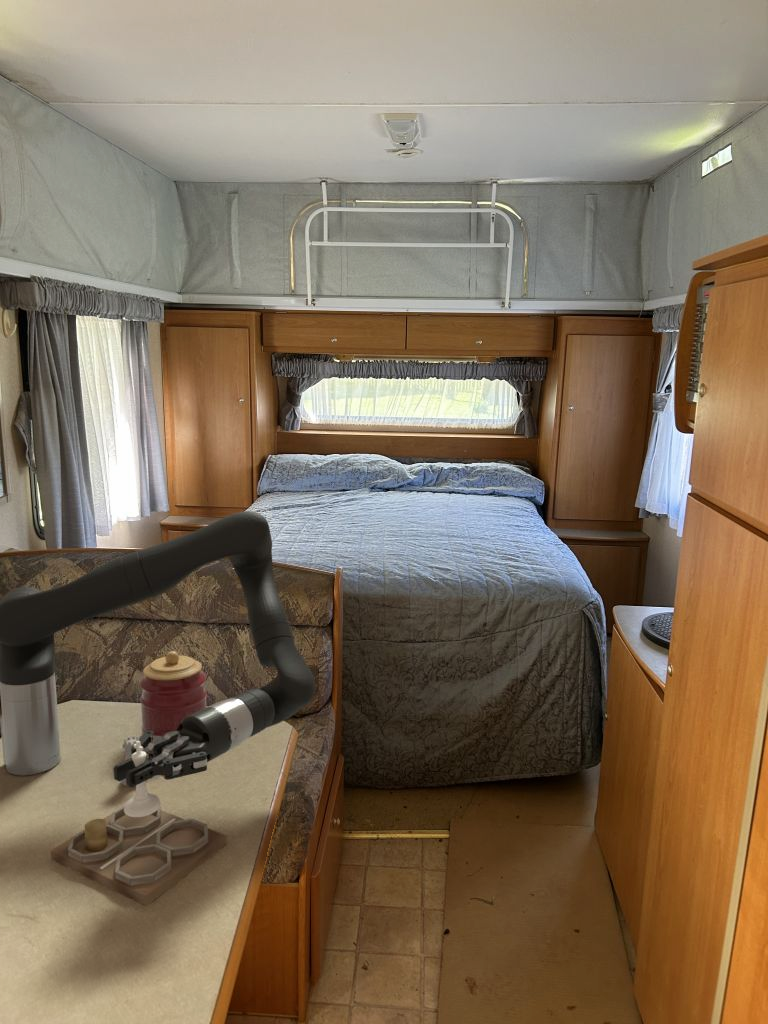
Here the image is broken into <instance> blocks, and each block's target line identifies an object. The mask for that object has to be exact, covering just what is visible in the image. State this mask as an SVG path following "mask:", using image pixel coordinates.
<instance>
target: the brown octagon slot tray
mask: <svg viewBox="0 0 768 1024" xmlns="http://www.w3.org/2000/svg"><path fill="white" fill-rule="evenodd" d="M227 837H228V835H227V834H224V833H221V832H218V831H216V830H213V829H212V828H211V829H210V828H208V824H207V823H204V822H202V821H200V820H197V819H194V818H190V819H185V818H183V817H180V816H178V815H175V814H173V813H170V812H167V811H164V810H162V806H161V805H160V807H159V809H158V810H157V811H156V812H154V813H152V814H150V815H147V816H143V817H130V816H128V815H126V814H125V813H124V805H123V806H122V807H120V808H118V809H116V810H115V811H113V812H112V813H110V814H108V815H107V816H105V817H104V818H94V819H91V820H88V821H87V822H86V823H85V824H84V829H83V830H81V831H80V832H78V833H76V834H74V835H73V836H71V837H70V838H69V839H68V840H65V841H63V842H62V843H60V844H59V845H57V846H55V847H54V848H52V849H50V850H49V851H50V861H53V862H55V863H57V864H59V865H61V866H63V867H65V868H67V869H69V870H71V871H73V872H76V873H78V874H80V875H82V876H84V877H86V878H88V879H90V880H92V881H94V882H96V883H99V884H100V885H103V886H105V887H106V888H109V889H110V890H113V891H114V892H118V893H119V894H120V895H123V896H125V897H127V898H129V899H131V900H133V901H135V902H137V903H140V904H142V905H144V906H146V907H147V906H149V905H150V904H151V903H153V902H154V901H156V899H158V898H160V897H161V896H162V895H163V894H165V893H166V892H167V891H168V890H170V889H172V887H173V886H175V885H176V884H177V883H179V882H180V881H181V880H182V879H184V878H185V877H186V876H187V875H189V874H190V873H192V872H193V871H194V870H195V869H197V868H198V867H199V866H200V865H202V864H204V863H205V862H206V861H208V859H210V858H211V857H212V856H214V855H215V854H216V853H218V852H219V851H220V850H222V849H223V848H225V846H226V845H227V844H228V843H227V842H228V841H227Z"/></svg>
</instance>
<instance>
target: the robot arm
mask: <svg viewBox="0 0 768 1024" xmlns="http://www.w3.org/2000/svg"><path fill="white" fill-rule="evenodd" d="M271 534H272V533H271V528H270V526H269V522H268V520H267V518H266V517H264V515H262V513H261V514H260V513H258V512H256V511H252V510H251V511H250V510H246V511H245V510H244V511H238V512H235V513H232V514H230V515H227V516H225V517H223V518H221V519H218V520H216V521H214V522H212V523H209V524H208V525H205V526H204V527H200V528H198V529H197V530H194V531H192V532H189V533H187V534H184V535H180V536H178V537H175V538H172V539H169V540H167V541H164V542H161V543H158V544H156V545H153V546H149V547H147V548H143V549H139V550H136V551H133V552H131V553H128V554H125V555H122V556H119V557H116V558H114V559H111V560H109V561H107V562H105V563H103V564H102V565H100V566H98V567H96V568H94V569H92V570H90V571H88V572H87V573H85V574H84V575H82V576H79V577H78V578H76V579H74V580H72V581H70V582H68V583H66V584H63V585H60V586H58V587H54V588H51V589H46V590H43V591H42V590H40V589H39V588H37V587H33V586H20V587H16V588H13V589H11V590H10V591H8V592H7V593H6V594H4V596H2V597H1V599H0V704H1V705H0V706H1V715H0V732H1V744H2V745H1V746H2V756H3V757H2V758H3V764H4V765H5V767H6V771H7V772H8V773H9V774H11V775H14V776H30V775H36V774H41V773H43V772H46V771H49V770H51V769H53V768H54V767H56V766H57V765H58V764H59V763H60V761H61V759H62V757H61V743H60V729H59V715H58V714H59V712H58V710H59V709H58V701H57V700H58V698H57V686H56V671H55V658H56V655H55V654H56V645H55V634H56V633H58V632H60V631H62V630H64V629H67V628H68V627H71V626H73V625H76V624H78V623H80V622H83V621H86V620H89V619H93V618H95V617H99V616H102V615H105V614H109V613H112V612H115V611H118V610H121V609H124V608H126V607H127V608H128V607H130V606H133V605H137V604H140V603H143V602H145V601H147V600H151V599H153V598H155V597H156V598H157V597H159V596H161V595H164V594H165V593H167V592H169V591H171V590H172V589H173V588H175V587H177V586H178V584H180V583H181V582H182V581H183V580H185V579H186V578H187V577H188V576H189V575H191V574H192V573H193V572H195V571H197V570H198V569H200V568H202V567H203V566H206V565H208V564H210V563H213V562H216V561H220V560H222V559H225V558H227V559H228V560H229V561H230V563H231V566H232V567H233V569H234V572H235V574H236V576H237V578H238V580H239V583H240V585H241V588H242V591H243V594H244V598H245V603H246V604H245V605H246V609H247V618H248V623H249V627H250V633H251V637H252V641H253V644H254V648H255V652H256V653H255V654H256V656H257V658H258V659H257V660H258V661H259V664H261V665H262V666H263V667H265V668H275V669H276V671H277V676H275V678H273V679H271V680H270V681H269V682H268V683H266V684H265V685H263V686H262V687H260V688H251V689H248V690H246V691H243V692H241V693H238V694H236V695H234V696H232V697H229V698H227V699H224V700H220V701H218V702H215V703H213V704H211V705H208V706H207V707H206V708H204V709H202V710H200V711H198V712H196V713H194V714H191V715H189V716H187V717H185V718H184V719H183V720H182V721H181V723H180V725H179V727H178V728H177V729H176V730H175V731H172V732H167V733H165V734H163V735H162V736H154V735H153V731H146V732H145V733H144V734H143V735H142V734H141V736H140V737H139V740H138V741H140V743H141V746H142V747H143V750H142V751H144V752H146V754H147V755H146V757H147V756H148V759H145V763H143V764H141V765H139V766H137V767H136V766H135V764H134V762H133V760H132V757H131V758H129V759H127V760H126V759H125V760H123V761H121V762H119V763H117V764H116V765H114V767H113V779H114V780H115V781H117V782H121V781H122V780H123V779H125V778H126V784H127V786H129V787H128V788H135V787H136V785H137V784H140V783H142V782H144V781H145V782H146V781H147V780H150V779H151V778H154V779H158V778H160V777H162V776H163V777H164V780H166V781H167V780H169V781H170V780H174V779H178V778H181V777H182V778H183V777H187V776H190V775H193V774H198V773H203V772H206V771H207V770H208V762H211V761H213V760H215V759H216V758H218V757H220V756H222V755H223V754H225V753H227V752H229V751H231V750H233V749H235V748H236V747H238V746H240V745H241V744H242V743H244V742H245V741H246V740H248V739H251V737H253V736H255V735H257V734H259V733H261V732H263V731H264V730H265V729H267V728H270V727H273V726H275V725H278V724H280V723H282V722H284V721H285V720H287V719H290V718H291V717H292V716H294V715H295V714H296V713H298V712H299V711H300V710H302V709H303V708H304V707H306V706H307V705H309V704H310V703H311V702H312V701H313V699H314V697H315V694H316V681H315V678H314V677H315V676H314V675H313V672H312V671H311V668H310V667H309V666H308V664H307V662H306V661H305V659H304V658H303V656H302V654H301V652H300V651H299V649H298V648H297V646H296V643H295V638H294V635H293V632H292V628H291V625H290V621H289V618H288V615H287V612H286V609H285V606H284V605H283V604H284V603H283V602H282V598H281V596H280V595H279V591H278V588H277V585H276V580H275V573H274V566H273V565H274V564H273V553H272V550H273V540H272V539H273V538H272V535H271ZM135 744H136V743H135ZM135 752H136V748H134V745H133V746H132V747H131V756H132V754H133V753H135ZM127 786H126V787H127ZM134 786H135V787H134Z"/></svg>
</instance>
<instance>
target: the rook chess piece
mask: <svg viewBox="0 0 768 1024" xmlns="http://www.w3.org/2000/svg"><path fill="white" fill-rule="evenodd" d="M139 738H140V737H139V736H135V735H132V738H131V736H128V737H126V738H125V739H124V740H123V742H124V743H122V746H121V747H122V748H123V749H124V751H125V752H124V753H123V755H124V756H125V760H127V759H129V758H131V747H132V746H133V745H134V744H135V743H136V741H138V740H139ZM120 783H121V784H122V785H123V786H124V787H127V788H130V787H129V786H127V784H126V778H125V779H123V780H122V781H120ZM133 788H136V786H134V787H133Z"/></svg>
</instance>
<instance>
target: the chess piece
mask: <svg viewBox="0 0 768 1024" xmlns="http://www.w3.org/2000/svg"><path fill="white" fill-rule="evenodd" d="M134 748H136V752H135V753H133V754H132V756H131V757H132V760H133V762H134V764H135V766H136V767H137V766H139V765H141V764H143V763H145V761H146V760H147V756H148V755H147V754H146V752H144V751H142V750H143V747H142V746H141V743H140V741H136V744H134ZM146 755H147V756H146ZM123 806H124V813H125V814H126V815H128V816H130V817H143V816H147V815H150V814H152V813H154V812H156V811H157V810H158V809H159V807H160V806H161V801H160V797H159V796H158V795H156V794H154V793H149V792H148V790H147V784H146V780H145V781H144V782H142V783H140V784H137V785H136V786H135V794H134V796H132V797H130V798H129V799H128V800H127V801H126V802H125V803H124V805H123Z"/></svg>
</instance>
